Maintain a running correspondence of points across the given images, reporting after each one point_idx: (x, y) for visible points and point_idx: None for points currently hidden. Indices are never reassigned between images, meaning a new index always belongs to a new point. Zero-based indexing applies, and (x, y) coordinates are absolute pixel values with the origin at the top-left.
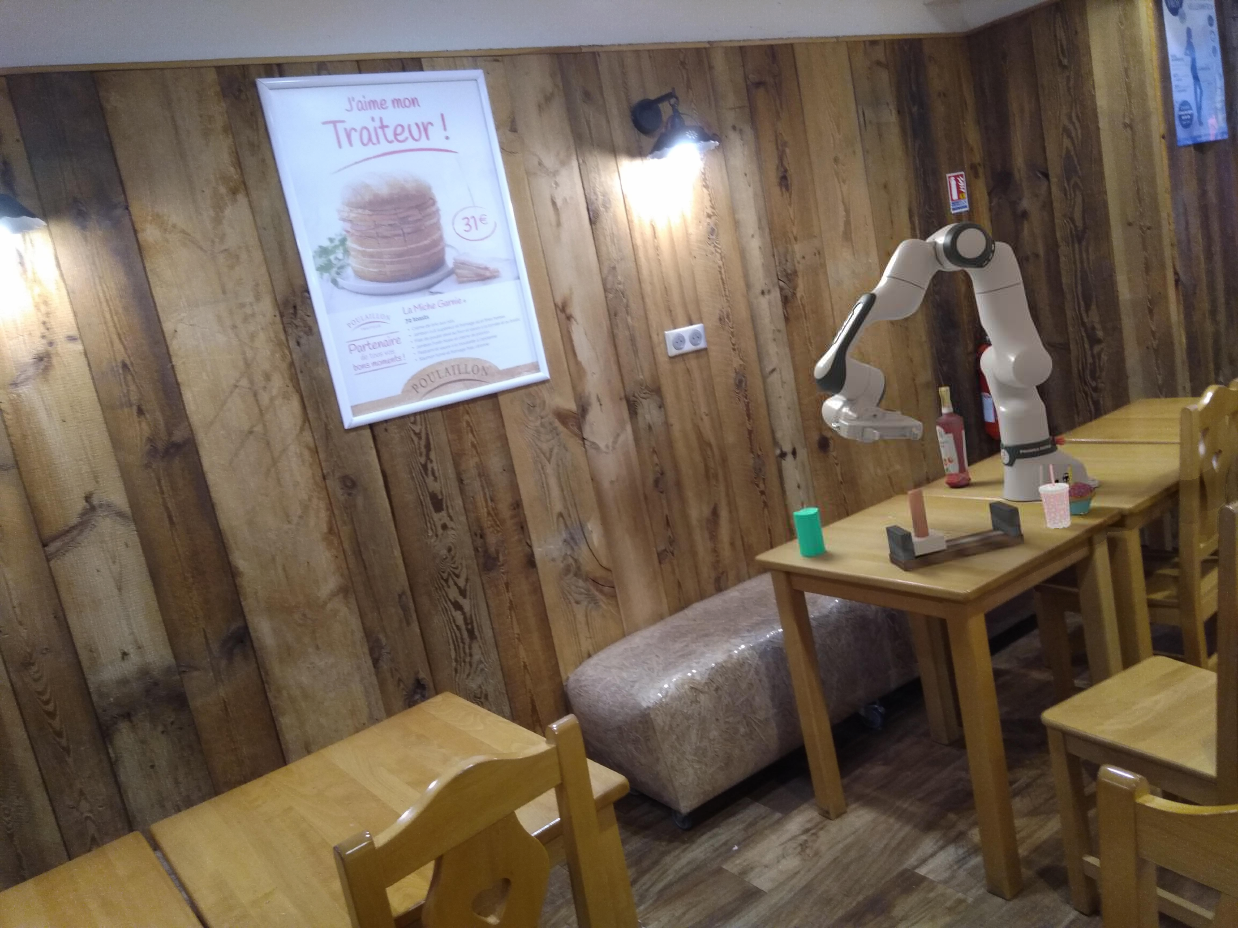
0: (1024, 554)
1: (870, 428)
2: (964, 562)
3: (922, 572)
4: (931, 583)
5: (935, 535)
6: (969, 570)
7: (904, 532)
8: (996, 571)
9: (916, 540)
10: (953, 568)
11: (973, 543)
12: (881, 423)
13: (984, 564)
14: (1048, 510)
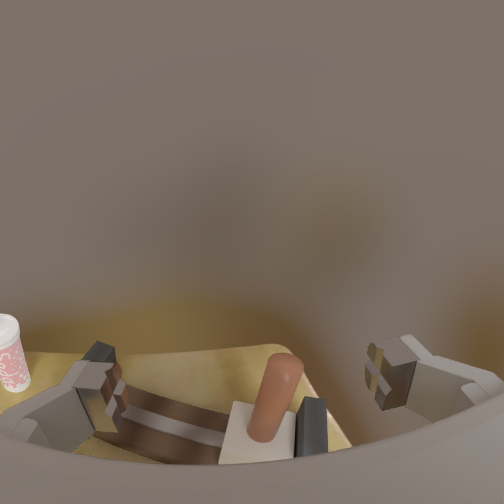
0: (146, 362)
1: (465, 391)
2: (218, 403)
3: None
4: (299, 381)
5: (245, 411)
6: (236, 378)
7: (313, 404)
8: (217, 355)
9: (285, 416)
10: (246, 398)
11: (173, 410)
12: (346, 472)
13: (207, 378)
14: (22, 361)
